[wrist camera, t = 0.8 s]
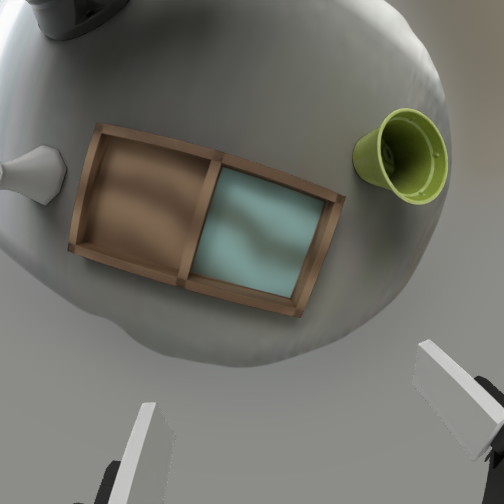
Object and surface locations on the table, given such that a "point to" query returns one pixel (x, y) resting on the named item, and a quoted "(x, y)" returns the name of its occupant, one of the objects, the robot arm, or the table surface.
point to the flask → (34, 174)
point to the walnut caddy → (202, 219)
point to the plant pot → (404, 157)
